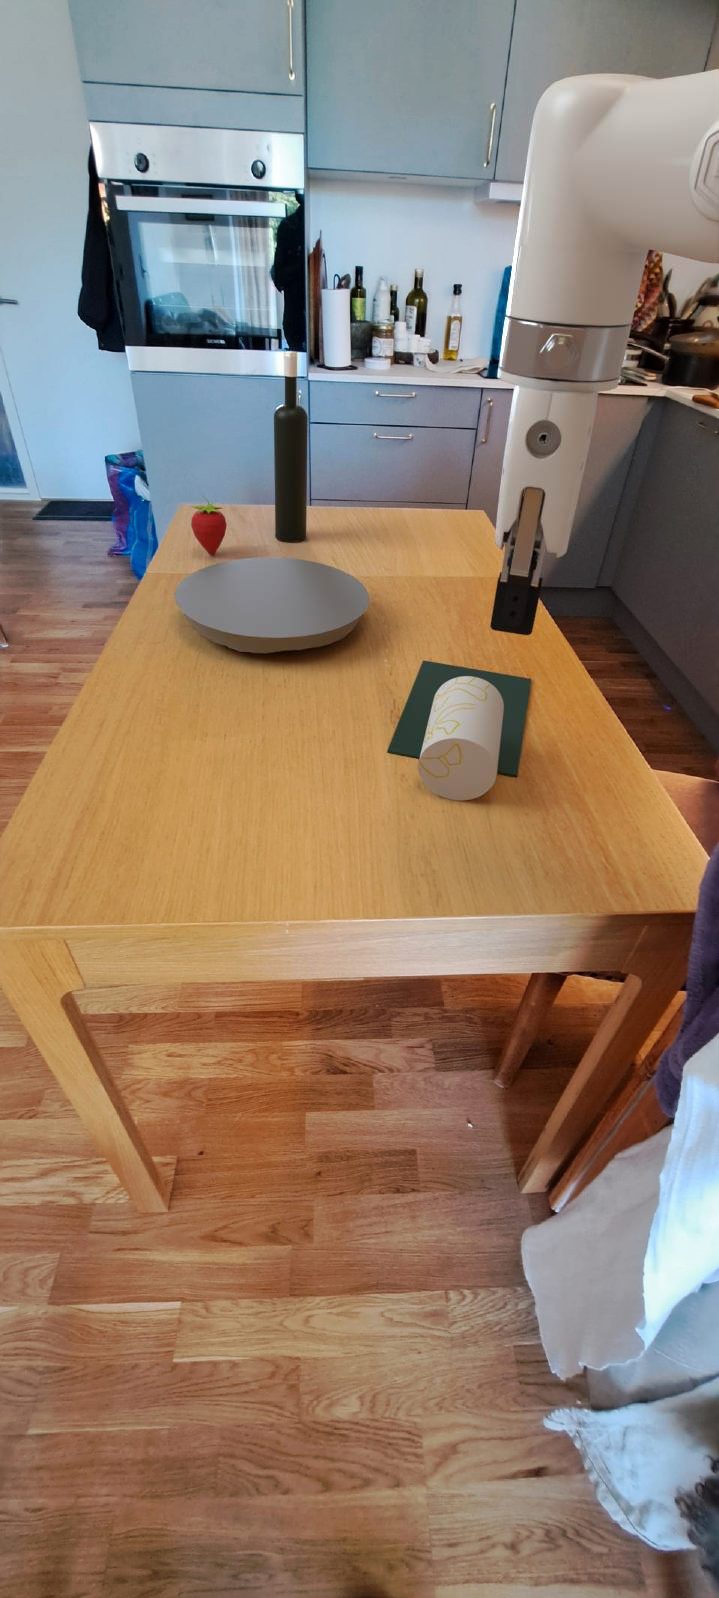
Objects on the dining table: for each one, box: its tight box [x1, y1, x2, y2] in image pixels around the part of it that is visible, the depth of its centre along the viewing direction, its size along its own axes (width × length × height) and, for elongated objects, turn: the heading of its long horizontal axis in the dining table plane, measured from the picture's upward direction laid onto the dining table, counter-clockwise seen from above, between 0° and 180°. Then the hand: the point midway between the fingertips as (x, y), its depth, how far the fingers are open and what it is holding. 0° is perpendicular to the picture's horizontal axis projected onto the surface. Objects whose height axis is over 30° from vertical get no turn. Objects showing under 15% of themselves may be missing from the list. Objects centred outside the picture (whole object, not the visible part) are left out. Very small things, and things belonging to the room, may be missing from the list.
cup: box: [417, 676, 504, 801], centre depth 80 cm, size 8×8×12 cm
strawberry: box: [190, 495, 227, 556], centre depth 125 cm, size 6×8×10 cm
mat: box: [386, 659, 532, 778], centre depth 92 cm, size 15×23×1 cm, turn 166°
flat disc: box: [174, 556, 370, 654], centre depth 108 cm, size 28×28×4 cm
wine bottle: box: [273, 350, 309, 543], centre depth 128 cm, size 6×6×30 cm
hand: (511, 628), depth 57 cm, fingers closed
